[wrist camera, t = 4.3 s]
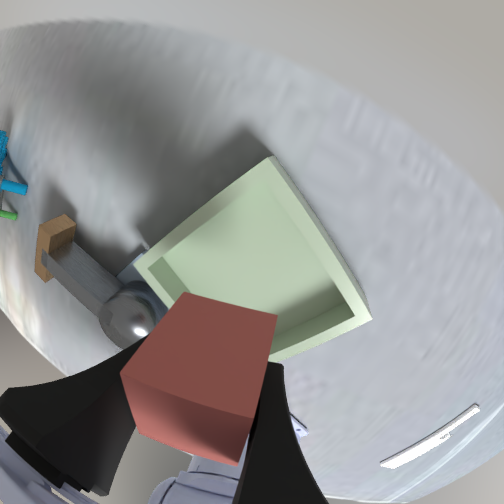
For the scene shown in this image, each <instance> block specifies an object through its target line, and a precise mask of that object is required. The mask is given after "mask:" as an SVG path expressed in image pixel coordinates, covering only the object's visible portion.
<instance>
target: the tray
mask: <svg viewBox="0 0 504 504" xmlns="http://www.w3.org/2000/svg"><path fill="white" fill-rule="evenodd" d="M133 265H134V266H135V267H136V269H137V270H138V271H139V273H140V274H141V275H142V277H143V278H144V279H145V280H146V282H147V283H148V284H149V285H150V287H151V288H152V289H153V290H154V292H155V293H156V294H157V295H158V296H159V298H160V299H161V300H162V301H163V302H164V304H165V305H166V306H167V307H168V308H169V309H170V308H171V307H172V305H173V304H174V303H175V302H176V300H177V299H178V298H179V297H180V296H181V294H182V293H183V292H188V293H192V294H195V295H199V296H203V297H206V298H210V299H214V300H218V301H222V302H226V303H230V304H234V305H238V306H242V307H246V308H250V309H254V310H258V311H262V312H267V313H271V314H276V315H278V317H277V322H276V326H275V331H274V336H273V340H272V345H271V349H270V354H269V358H268V361H270V362H275V363H277V362H279V361H282V360H284V359H287V358H289V357H292V356H294V355H297V354H299V353H301V352H304V351H306V350H308V349H311V348H313V347H315V346H318V345H320V344H322V343H324V342H327V341H329V340H331V339H333V338H335V337H337V336H340V335H342V334H344V333H346V332H348V331H350V330H352V329H354V328H356V327H358V326H360V325H362V324H364V323H366V322H368V321H370V320H372V315H371V312H370V308H369V305H368V301H367V298H366V296H365V294H364V292H363V291H362V289H361V287H360V285H359V284H358V282H357V280H356V279H355V277H354V275H353V274H352V272H351V270H350V269H349V267H348V265H347V264H346V262H345V260H344V259H343V257H342V255H341V254H340V252H339V251H338V249H337V247H336V246H335V244H334V243H333V241H332V239H331V238H330V236H329V235H328V233H327V232H326V230H325V228H324V227H323V225H322V224H321V222H320V221H319V219H318V218H317V216H316V215H315V213H314V212H313V210H312V209H311V207H310V206H309V204H308V203H307V201H306V200H305V198H304V197H303V195H302V194H301V193H300V191H299V190H298V188H297V187H296V185H295V184H294V183H293V181H292V180H291V178H290V177H289V175H288V174H287V173H286V171H285V170H284V168H283V167H282V166H281V164H280V163H279V162H278V160H277V159H276V158H275V156H270V157H267V158H266V159H264V160H263V161H262V162H260V163H259V164H257V165H256V166H255V167H253V168H252V169H250V170H249V171H248V172H246V173H245V174H244V175H242V176H241V177H240V178H238V179H237V180H236V181H234V182H233V183H232V184H230V185H229V186H228V187H226V188H225V189H224V190H222V191H221V192H220V193H218V194H217V195H216V196H215V197H213V198H212V199H211V200H209V201H208V202H207V203H206V204H204V205H203V206H202V207H201V208H199V209H198V210H197V211H196V212H194V213H193V214H192V215H191V216H189V217H188V218H187V219H186V220H184V221H183V222H182V223H181V224H179V225H178V226H177V227H176V228H175V229H173V230H172V231H171V232H170V233H169V234H167V235H166V236H165V237H164V238H163V239H161V240H160V241H159V242H158V243H157V244H156V245H154V246H153V247H152V248H151V249H150V250H149V251H148V252H146V253H145V254H144V255H143V256H142V257H141V258H140V259H138V260H137V261H136V262H135V263H134V264H133Z"/></svg>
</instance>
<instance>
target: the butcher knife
mask: <svg viewBox="0 0 504 504" xmlns="http://www.w3.org/2000/svg"><path fill="white" fill-rule="evenodd" d="M479 410H480V408H479V407H478V406H477V405H475V404H474V405H473V406H471V407H470V408H469V409H468V410H466V411H465V412H464V413H462V414H461V415H460V416H458V417H457V418H455V419H454V420H453V421H451V422H450V423H448V424H447V425H445V426H444V427H442V428H441V429H439V430H438V431H436V432H435V433H433V434H431V435H430V436H428V437H427V438H425V439H423V440H422V441H420V442H418V443H416V444H415V445H413V446H411V447H409V448H408V449H406V450H404V451H402V452H400V453H398V454H396V455H394V456H392V457H390V458H388V459H386V460H384V461H382V462H380V466H383V467H386V468H387V467H389V468H393V469H395V467H396V468H397V467H398V466H400V465H402V464H404V463H406V462H409V461H411V460H413V459H415V458H416V457H417V456H419V455H422V454H424V453H425V452H426V451H429V450H430V449H432V448H434V447H435V446H437V445H439V444H440V443H442V442H443V441H445V440H447V439H448V438H450V437H451V436H453V435H450V433H449V431H451V430H452V429H453V428H455V427H456V426H457V425H459V424H461V423H462V422H464V421H465V420H466V419H468V418H469V417H471V416H472V415H474V414H475V413H477V412H478V411H479ZM446 433H447V434H446Z"/></svg>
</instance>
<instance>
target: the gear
mask: <svg viewBox="0 0 504 504" xmlns="http://www.w3.org/2000/svg"><path fill="white" fill-rule="evenodd" d="M5 135H6V132H5V131H1V130H0V217H4V218H8V219H12V220H16V219H17V214H16V213H12V212H8V211H4V210H2V198H3V190H6V191H10V192H14V193H18V194H21V195H26V192H27V187H28V185H24V184H20V183H17V182H13V181H9V180H5V176H2V171H3V167H2V166H1V165H2V162H3V160H4V159H5V157H6V153H7V149H6V148H5V146H6V144H7V142H8V137H6V136H5Z"/></svg>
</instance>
